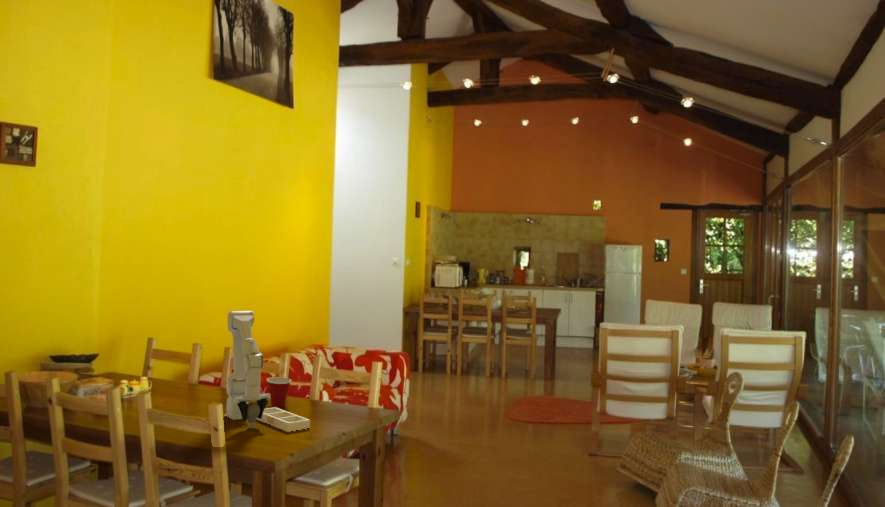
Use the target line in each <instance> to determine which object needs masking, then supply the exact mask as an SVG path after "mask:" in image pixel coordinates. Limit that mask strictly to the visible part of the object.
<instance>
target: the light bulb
mask: <svg viewBox="0 0 885 507" xmlns="http://www.w3.org/2000/svg"><path fill="white" fill-rule="evenodd" d="M259 413H260V407H259V405H258V404H257V402H248V409H247V423H248V429H254V428H256V422H257V417H258V415H259Z"/></svg>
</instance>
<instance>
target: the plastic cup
mask: <svg viewBox="0 0 885 507" xmlns="http://www.w3.org/2000/svg"><path fill="white" fill-rule="evenodd" d="M266 382H267V386H268V390H269V391H268V392H269V393H268V394H271V395H270V399H269V400H270V404H271V408H273V407H276V408H283V407H285V405H286V401H287V398H288V393H289V392H288V391H289V387H290V385H291V383H292V379H291V378H287V377H280V376H273V377H267V378H266Z"/></svg>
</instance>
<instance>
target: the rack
mask: <svg viewBox="0 0 885 507" xmlns="http://www.w3.org/2000/svg"><path fill="white" fill-rule="evenodd" d="M256 421H259V422H262V423H265V424H266V423H267V425H269V424H270V426H272V427H274V428H277V429H279V430H281V429H282V431H284V432H286V433H292V432H291V431H293V432H297V431H296V430H299V431H303V430H302V429H305V430H308V429H307V428H310V427H311V426H310V424H311V420H310V419H309V418H306V417H303V416H301V415H298V414H295V413H292V412H290V411H287V410H284V409H281V408H280V407H268V408H266V407H265V409H264V411H263V415H262V419H259V418H258V417H257V419H256ZM310 429H311V428H310Z"/></svg>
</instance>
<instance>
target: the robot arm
mask: <svg viewBox="0 0 885 507" xmlns="http://www.w3.org/2000/svg"><path fill="white" fill-rule="evenodd" d="M254 323H255V313H254V311H253V310H238V311H237V310H235V311H234V310H233V311H232V310H229V312H228V313H227V331H228V332H230V333H231V334H232V357H233V358H232V360H233V361H232V363H233V372H232V373H231V374H229V376H227V379H226V390H225V392H226V395H228V397H227V399H226V407H225V408H226V411H225V413H226V414H223V415H224V417H226V416H227V417H226V418H228V417H229V419H230V420H232V421H237V420H242V421H244V422H247V421H248V419H247V409H248V404H249V403H250V402H255V401H256V404H258V405H259V407H260V413H259V415H258V418H259V419H262V415H263V411H264V409H266V407H267V405H268V403H269V400H271V399H270V395H271V394H270V393H261V385H262V384H261V382H262V381H261V378H262V376H261V374H262V373H261V372H262V368H263V367H264V356H263V354H262V353H261V351H259V346H258V344H257V343H258V342H257V340H256V339H254V338H253V333H252V332H253V330H252V328H253V325H254Z"/></svg>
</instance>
